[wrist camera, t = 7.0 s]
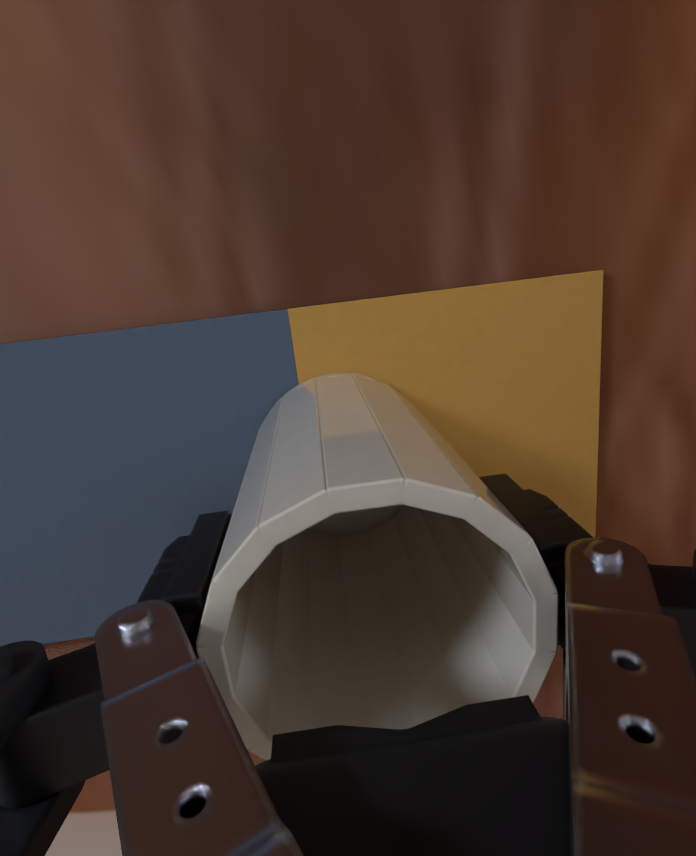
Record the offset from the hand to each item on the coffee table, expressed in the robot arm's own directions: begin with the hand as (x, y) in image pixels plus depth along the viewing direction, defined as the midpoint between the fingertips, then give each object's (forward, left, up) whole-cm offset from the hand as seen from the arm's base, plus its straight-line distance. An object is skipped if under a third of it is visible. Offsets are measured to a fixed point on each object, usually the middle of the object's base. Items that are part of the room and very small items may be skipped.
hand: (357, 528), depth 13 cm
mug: (+1, 0, -5) cm, 5 cm away
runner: (0, -3, -5) cm, 6 cm away
